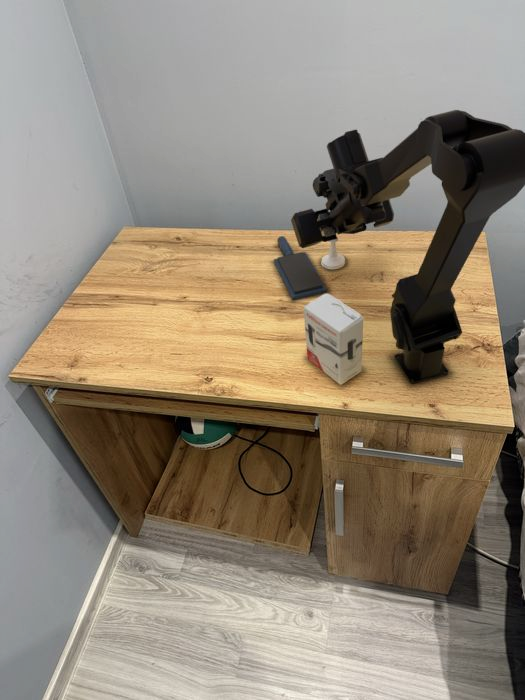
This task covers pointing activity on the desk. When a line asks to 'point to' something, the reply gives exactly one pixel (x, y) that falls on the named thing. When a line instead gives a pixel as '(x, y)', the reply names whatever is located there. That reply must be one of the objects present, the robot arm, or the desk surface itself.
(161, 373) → the desk surface
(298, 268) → the scrub brush
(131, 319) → the desk surface
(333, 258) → the chess piece
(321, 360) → the ink box
